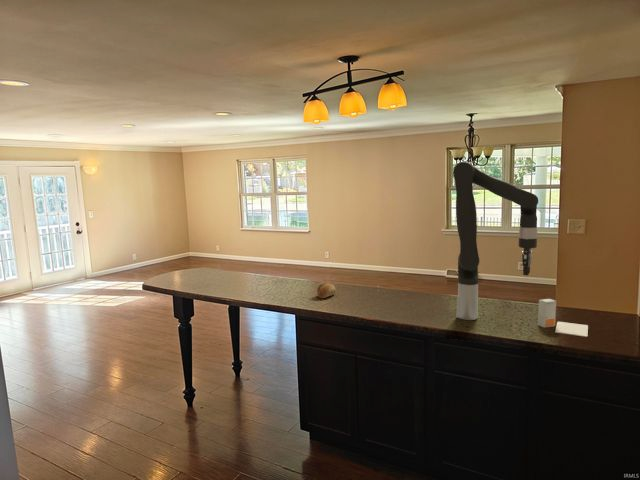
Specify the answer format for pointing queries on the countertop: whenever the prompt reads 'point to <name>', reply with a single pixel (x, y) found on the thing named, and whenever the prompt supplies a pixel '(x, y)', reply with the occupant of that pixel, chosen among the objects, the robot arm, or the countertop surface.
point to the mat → (572, 329)
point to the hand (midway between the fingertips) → (526, 274)
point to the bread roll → (326, 290)
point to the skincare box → (546, 313)
